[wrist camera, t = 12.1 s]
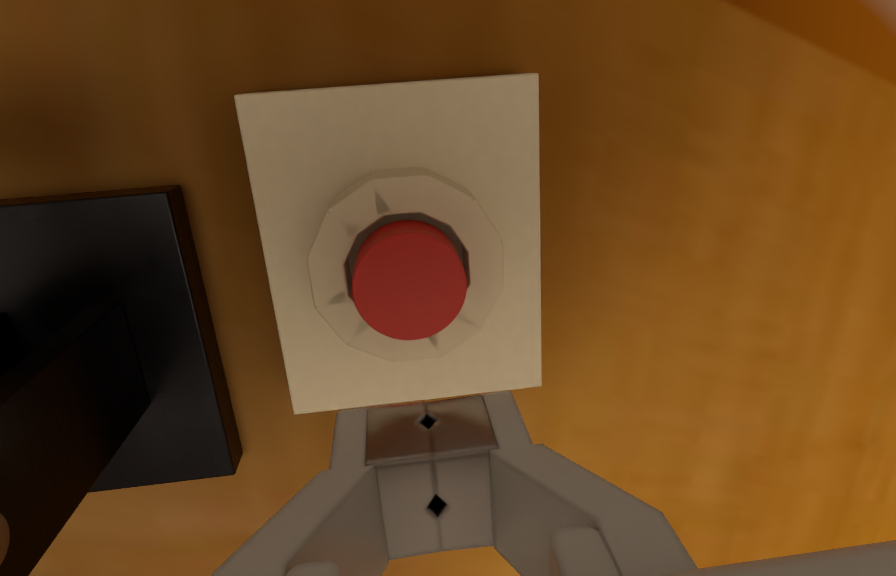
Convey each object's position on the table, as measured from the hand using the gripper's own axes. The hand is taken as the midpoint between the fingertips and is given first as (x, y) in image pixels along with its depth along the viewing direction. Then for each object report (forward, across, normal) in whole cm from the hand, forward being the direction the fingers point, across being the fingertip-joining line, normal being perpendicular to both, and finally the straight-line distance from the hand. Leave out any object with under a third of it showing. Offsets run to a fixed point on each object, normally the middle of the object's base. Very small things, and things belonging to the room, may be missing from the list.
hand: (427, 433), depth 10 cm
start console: (+14, 0, 0) cm, 14 cm away
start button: (+10, 0, 0) cm, 10 cm away
